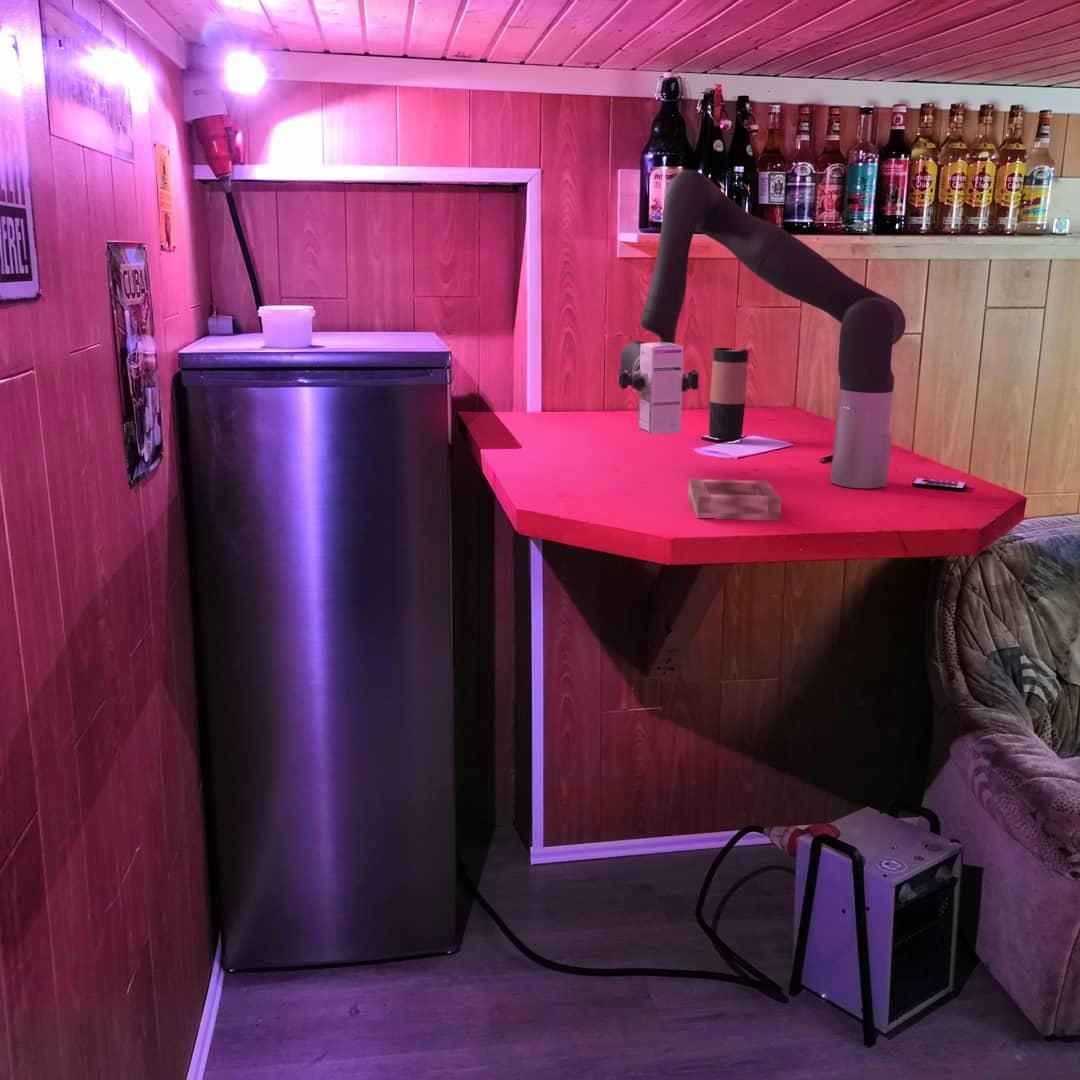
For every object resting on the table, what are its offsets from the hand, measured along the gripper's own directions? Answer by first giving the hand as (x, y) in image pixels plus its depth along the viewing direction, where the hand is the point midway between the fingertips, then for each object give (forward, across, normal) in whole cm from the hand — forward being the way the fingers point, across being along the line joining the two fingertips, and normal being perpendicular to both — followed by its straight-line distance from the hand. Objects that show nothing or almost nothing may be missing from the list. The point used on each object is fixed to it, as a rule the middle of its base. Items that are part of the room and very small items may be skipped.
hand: (662, 384), depth 173 cm
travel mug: (-58, +20, +20) cm, 65 cm away
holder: (+6, +12, +19) cm, 23 cm away
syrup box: (-2, 0, +8) cm, 8 cm away
